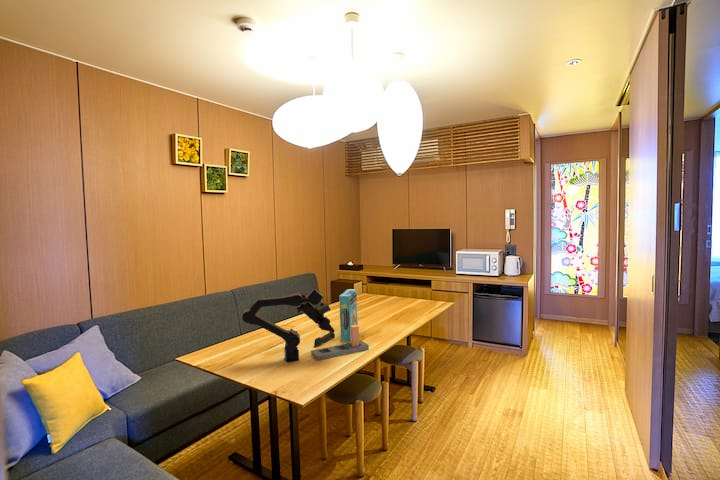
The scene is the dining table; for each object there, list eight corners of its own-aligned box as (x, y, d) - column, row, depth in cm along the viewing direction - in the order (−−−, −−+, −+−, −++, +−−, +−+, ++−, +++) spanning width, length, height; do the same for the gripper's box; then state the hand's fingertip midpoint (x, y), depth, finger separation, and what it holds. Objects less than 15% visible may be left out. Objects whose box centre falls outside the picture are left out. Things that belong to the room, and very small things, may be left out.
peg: (353, 350, 206) (352, 327, 205) (351, 348, 210) (350, 325, 209) (359, 349, 207) (358, 326, 207) (357, 347, 211) (356, 324, 210)
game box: (351, 341, 221) (349, 296, 219) (340, 341, 222) (338, 296, 220) (358, 331, 241) (356, 289, 239) (348, 330, 242) (347, 288, 240)
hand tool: (329, 337, 231) (329, 329, 230) (335, 338, 229) (334, 330, 228) (310, 347, 214) (310, 339, 214) (316, 348, 212) (315, 340, 212)
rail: (317, 360, 194) (316, 355, 194) (311, 355, 202) (311, 350, 202) (368, 349, 207) (368, 345, 207) (361, 344, 215) (361, 340, 215)
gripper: (325, 303, 190) (347, 321, 194) (316, 295, 207) (336, 313, 212) (310, 320, 187) (332, 339, 192) (302, 311, 205) (323, 328, 210)
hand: (331, 329), depth 201 cm, fingers open, 9 cm apart
